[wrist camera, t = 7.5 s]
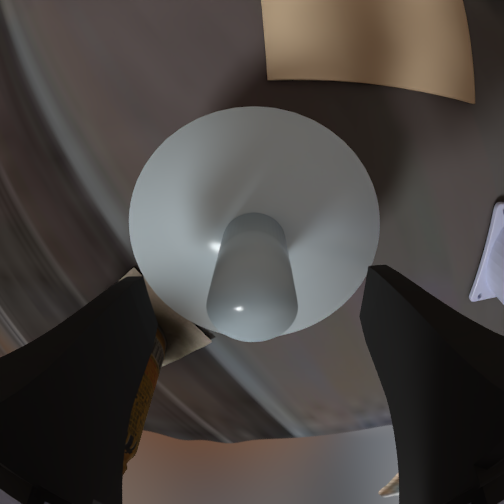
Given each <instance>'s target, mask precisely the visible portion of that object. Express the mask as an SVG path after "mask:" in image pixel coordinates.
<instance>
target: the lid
mask: <svg viewBox="0 0 504 504" xmlns="http://www.w3.org/2000/svg"><path fill="white" fill-rule="evenodd" d="M129 232H130V240H131V245H132V249H133V253H134V256H135V259H136V261H137V264H138V266H139V268H140V270H141V272H142V274H143V276H144V277H145V279H146V281H147V282H148V284H149V285H150V286H151V288H152V289H153V291H154V292H155V293H156V294H157V295H158V296H159V297H160V298H161V299H162V301H163V302H164V303H166V304H167V305H168V306H169V307H170V308H171V309H173V310H174V311H175V312H176V313H178V314H179V315H181V316H182V317H184V318H185V319H187V320H189V321H191V322H193V323H195V324H197V325H198V326H201V327H203V328H206V329H208V330H211V331H214V332H218V333H221V334H225V335H226V336H229V337H231V338H233V339H236V340H240V341H246V342H260V341H265V340H269V339H272V338H275V337H277V336H280V335H284V334H289V333H293V332H296V331H299V330H302V329H304V328H307V327H309V326H311V325H313V324H315V323H317V322H319V321H321V320H323V319H324V318H326V317H328V316H329V315H331V314H332V313H333V312H335V311H336V310H337V309H338V308H340V307H341V306H342V305H343V304H344V303H345V302H346V301H347V300H348V299H349V298H350V297H351V296H352V295H353V294H354V292H355V291H356V290H357V289H358V287H359V286H360V285H361V283H362V282H363V280H364V278H365V277H366V275H367V271H368V266H371V264H372V262H373V260H374V257H375V253H376V250H377V246H378V240H379V233H380V213H379V206H378V200H377V196H376V193H375V190H374V186H373V183H372V181H371V179H370V177H369V175H368V173H367V171H366V169H365V167H364V166H363V164H362V163H361V161H360V160H359V158H358V157H357V155H356V154H355V153H354V152H353V151H352V150H351V148H350V147H349V146H348V145H347V144H346V143H345V142H344V141H343V140H342V139H341V138H339V137H338V136H337V135H336V134H334V133H333V132H332V131H331V130H329V129H328V128H326V127H324V126H323V125H321V124H319V123H317V122H316V121H314V120H312V119H310V118H307V117H305V116H302V115H300V114H297V113H294V112H290V111H286V110H282V109H278V108H270V107H258V106H251V107H236V108H231V109H226V110H221V111H217V112H214V113H211V114H208V115H206V116H203V117H200V118H198V119H196V120H194V121H192V122H191V123H189V124H187V125H185V126H183V127H182V128H180V129H179V130H178V131H176V132H175V133H174V134H172V135H171V136H170V137H169V138H167V139H166V140H165V141H164V142H163V143H162V144H161V145H160V146H159V147H158V149H157V150H156V151H155V152H154V153H153V154H152V156H151V157H150V159H149V160H148V162H147V163H146V164H145V166H144V168H143V170H142V172H141V174H140V176H139V178H138V180H137V182H136V185H135V188H134V191H133V194H132V199H131V204H130V210H129Z"/></svg>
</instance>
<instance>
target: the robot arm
mask: <svg viewBox="0 0 504 504" xmlns="http://www.w3.org/2000/svg"><path fill="white" fill-rule="evenodd" d="M493 297H497V298H498V299H499V300H500V301H501V302H502V303H503V305H504V202H497V203H496V204H495V206H494V210H493V214H492V219H491V224H490V228H489V232H488V236H487V240H486V244H485V248H484V251H483V255H482V258H481V262H480V265H479V268H478V272H477V275H476V278H475V281H474V284H473V286H472V289H471V292H470V295H469V299H470V300H471V301H472V302H474V301H479V300H484V299H489V298H493ZM360 320H361V324H362V329H363V333H364V336H365V340H366V344H367V346H368V349H369V352H370V354H371V357H372V360H373V362H374V365H375V368H376V370H377V373H378V376H379V378H380V381H381V384H382V387H383V389H384V392H385V395H386V398H387V402H388V405H389V409H390V414H391V419H392V424H393V429H394V435H395V442H396V449H397V458H398V470H399V504H504V336H502V335H500V334H497V333H495V332H493V331H491V330H489V329H487V328H485V327H483V326H482V325H480V324H478V323H476V322H474V321H472V320H471V319H469V318H467V317H465V316H464V315H462V314H460V313H459V312H457V311H456V310H454V309H452V308H451V307H449V306H448V305H446V304H444V303H443V302H441V301H440V300H438V299H437V298H435V297H434V296H432V295H431V294H430V293H428V292H427V291H425V290H424V289H422V288H421V287H419V286H418V285H416V284H415V283H414V282H412V281H411V280H409V279H408V278H406V277H405V276H403V275H402V274H400V273H399V272H397V271H396V270H394V269H392V268H391V267H389V266H387V265H375V266H368V271H367V278H366V284H365V290H364V295H363V301H362V306H361V311H360ZM157 327H158V322H157V319H156V316H155V313H154V310H153V307H152V304H151V301H150V297H149V294H148V291H147V288H146V284H145V281H144V277H143V276H127V277H125V278H124V279H122V280H120V281H119V282H117V283H116V284H114V285H113V286H111V287H110V288H108V289H107V290H106V291H104V292H103V293H102V294H100V295H99V296H97V297H96V298H95V299H93V300H92V301H91V302H89V303H88V304H87V305H85V306H84V307H83V308H81V309H80V310H79V311H77V312H76V313H74V314H73V315H72V316H70V317H69V318H67V319H66V320H65V321H63V322H62V323H60V324H59V325H58V326H56V327H55V328H53V329H52V330H50V331H48V332H47V333H45V334H44V335H42V336H40V337H39V338H37V339H35V340H34V341H32V342H30V343H28V344H27V345H25V346H23V347H21V348H19V349H17V350H15V351H13V352H11V353H9V354H7V355H5V356H3V357H1V358H0V504H122V476H123V461H124V452H125V444H126V437H127V431H128V426H129V420H130V415H131V411H132V408H133V404H134V401H135V398H136V395H137V392H138V389H139V386H140V383H141V381H142V378H143V375H144V372H145V369H146V367H147V364H148V361H149V358H150V355H151V352H152V349H153V345H154V341H155V336H156V331H157Z"/></svg>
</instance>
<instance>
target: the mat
mask: <svg viewBox="0 0 504 504" xmlns="http://www.w3.org/2000/svg"><path fill="white" fill-rule="evenodd" d="M261 5H262V16H263V27H264V39H265V52H266V65H267V79H268V81H269V80H322V81H341V82H354V83H365V84H374V85H382V86H390V87H396V88H403V89H409V90H414V91H420V92H425V93H430V94H434V95H439V96H443V97H448V98H452V99H456V100H459V101H463V102H467V103H470V104H475V86H474V70H473V59H472V50H471V42H470V35H469V29H468V23H467V18H466V13H465V8H464V4H463V0H261Z"/></svg>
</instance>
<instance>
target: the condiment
mask: <svg viewBox="0 0 504 504" xmlns="http://www.w3.org/2000/svg"><path fill="white" fill-rule="evenodd" d="M127 276H142V275H141V274H140V273H139V272H138V271H137V270H136V269H135V268H132V269H131V270H130V271H129V272H128V273H127V274H126V275H125V276H124V277H122V278H121V279H120V280H122V279H124V278H125V277H127ZM120 280H119V281H120ZM119 281H118V282H119ZM144 281H145V284H146V288H147V291H148V294H149V297H150V301H151V304H152V307H153V310H154V313H155V316H156V319H157V322H158V327H157V331H156V336H155V341H154V345H153V349H152V352H151V355H150V358H149V361H148V364H147V367H146V369H145V372H144V375H143V378H142V381H141V383H140V386H139V389H138V392H137V395H136V398H135V401H134V404H133V408H132V411H131V415H130V420H129V426H128V431H127V437H126V444H125V452H124V461H123V474H124V473H125V471H126V470H127V465H126V464H127V462H128V461H129V460H130V459H131V458H133V457H134V456H135V454H136V452H137V449H138V445H139V442H140V438H141V435H142V431H143V427H144V423H145V420H146V416H147V413H148V410H149V407H150V403H151V399H152V396H153V393H154V389H155V386H156V383H157V379H158V376H159V373H160V370H161V367H162V366H164V365H167V364H168V363H171V362H173V361H175V360H178V359H180V358H182V357H183V356H185V355H188V354H189V353H191V352H193V351H195V350H197V349H200V348H202V347H204V346H206V345H208V344H209V343H211V342H212V341H211V340H210V339H209V338H208V337H207V336H206V335H204V333H203V332H202V331H201V330H200V329H199V328H198V327H197V326H196V325H194V324H193V323H192V322H191V321H189V320H187V319H185V318H184V317H182V316H181V315H179V314H178V313H176V312H175V311H174V310H173V309H171V308H170V307H169V306H168V305H167V304H166V303H164V302H163V301H162V299H161V298H160V297H159V296H158V295H157V294H156V293H155V292H154V291H153V289H152V288H151V286H150V285H149V284H148V282H147V281H146V279H145V278H144ZM170 344H171V345H170Z"/></svg>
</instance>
